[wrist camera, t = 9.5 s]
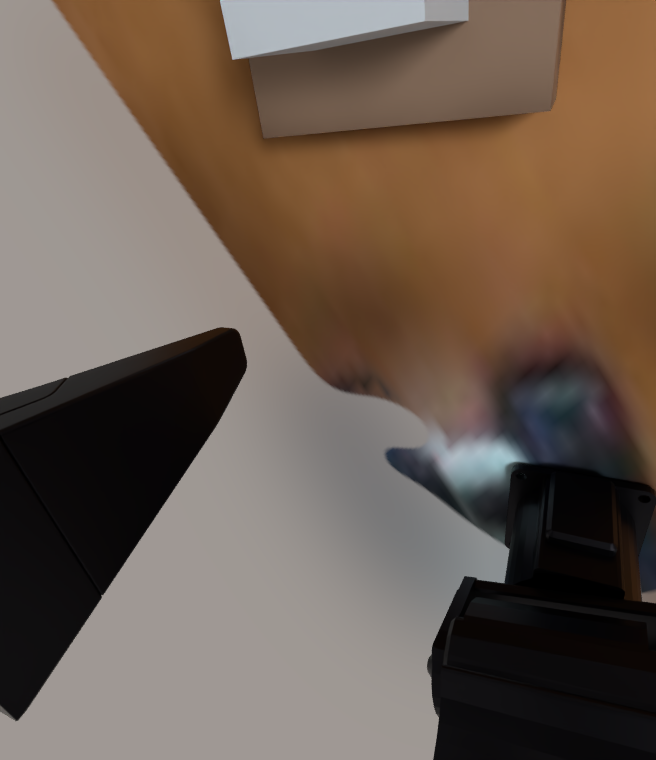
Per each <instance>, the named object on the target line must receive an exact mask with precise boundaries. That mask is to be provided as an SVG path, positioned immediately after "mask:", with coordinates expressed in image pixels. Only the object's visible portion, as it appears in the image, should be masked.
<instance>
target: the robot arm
mask: <svg viewBox="0 0 656 760" xmlns="http://www.w3.org/2000/svg"><path fill="white" fill-rule="evenodd" d="M246 368H247V360H246V356H245V352H244V348H243V344H242V340H241V336H240V334H239V332H238V331H237V330H236V329H232V328H223V327H221V328H216V329H213V330H210V331H207V332H204V333H201V334H198V335H195V336H192V337H189V338H186V339H182V340H180V341H177V342H173V343H170V344H167V345H164V346H161V347H158V348H155V349H152V350H149V351H146V352H143V353H140V354H137V355H134V356H130V357H127V358H124V359H121V360H118V361H115V362H112V363H109V364H106V365H103V366H100V367H97V368H94V369H91V370H88V371H84V372H82V373H78V374H75V375H72V376H70V377H69V378H63V379H60V380H57V381H54V382H51V383H47V384H44V385H42V386H38V387H35V388H32V389H28V390H25V391H22V392H19V393H15V394H12V395H9V396H5V397H2V398H0V711H1V712H2V713H4V714H5V715H7V716H8V717H10V718H12V719H14V720H15V721H18V720H19V719H20V717H21V716H22V715H23V714H24V713H25V711H26V710H27V709H28V707H29V706H30V704H31V703H32V701H33V700H34V698H35V697H36V695H37V694H38V692H39V691H40V690H41V688H42V687H43V685H44V683H45V682H46V681H47V679H48V678H49V676H50V674H51V673H52V672H53V670H54V669H55V667H56V666H57V664H58V663H59V661H60V660H61V658H62V657H63V655H64V653H65V652H66V651H67V649H68V648H69V646H70V644H71V643H72V642H73V640H74V639H75V637H76V636H77V634H78V633H79V631H80V630H81V628H82V627H83V625H84V624H85V622H86V621H87V619H88V618H89V616H90V615H91V613H92V612H93V610H94V608H95V607H96V606H97V604H98V603H99V601H100V600H101V598H102V596H101V595H103V594H104V593H105V592H106V590H107V589H108V587H109V585H110V584H111V583H112V581H113V579H114V578H115V577H116V575H117V573H118V572H119V571H120V569H121V568H122V566H123V565H124V563H125V562H126V560H127V558H128V557H129V556H130V554H131V553H132V551H133V550H134V548H135V547H136V545H137V544H138V542H139V540H140V539H141V538H142V536H143V535H144V533H145V532H146V530H147V529H148V527H149V526H150V524H151V523H152V521H153V520H154V518H155V517H156V515H157V514H158V512H159V511H160V509H161V508H162V506H163V505H164V503H165V502H166V500H167V499H168V498H169V496H170V495H171V493H172V492H173V490H174V489H175V487H176V486H177V484H178V483H179V481H180V480H181V478H182V477H183V475H184V474H185V472H186V471H187V469H188V468H189V466H190V464H191V463H192V462H193V460H194V458H195V457H196V456H197V454H198V453H199V451H200V450H201V448H202V447H203V445H204V444H205V442H206V441H207V439H208V437H209V436H210V435H211V433H212V432H213V430H214V429H215V427H216V425H217V424H218V422H219V420H220V419H221V417H222V415H223V413H224V411H225V409H226V408H227V406H228V404H229V402H230V400H231V398H232V396H233V394H234V392H235V391H236V389H237V387H238V385H239V383H240V381H241V379H242V377H243V375H244V374H245V371H246ZM519 473H523V474H525V475H521V474H519ZM641 495H646V496H647V497H641ZM655 505H656V492H655V490H654V489H653V488H651V487H648V486H645V485H639V484H633V483H627V482H622V481H616V480H610V479H604V478H599V477H593V476H587V475H582V474H576V473H570V472H564V471H559V470H553V469H547V468H541V467H536V466H530V465H524V464H518V465H515V466H514V467H513V469H512V473H511V482H510V493H509V503H508V514H507V524H506V534H505V545H506V547H507V548H509V549H510V550H509V557H508V563H507V570H506V576H505V583H497V582H489V581H482V580H477V578H474V577H467V576H465V577H464V579H463V581H462V583H461V585H460V588H459V589H458V590H457V592H456V594H455V596H454V598H453V601H452V603H451V605H450V607H449V610H448V612H447V614H446V616H445V618H444V621H443V623H442V625H441V627H440V629H439V632H438V634H437V636H436V638H435V641H434V643H433V646H432V655H431V656H430V657H429V659H428V664H427V670H428V673H429V674H430V676H431V678H432V698H433V703H434V708H435V711H436V714H437V715H438V717H439V724H438V733H437V739H436V746H435V752H434V759H433V760H656V603H648V602H642V595H641V584H640V572H639V561H638V556H639V553H640V550H641V547H642V544H643V541H644V538H645V535H646V532H647V529H648V526H649V523H650V520H651V517H652V514H653V511H654V508H655Z"/></svg>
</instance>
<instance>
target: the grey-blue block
mask: <svg viewBox="0 0 656 760" xmlns="http://www.w3.org/2000/svg"><path fill="white" fill-rule="evenodd" d="M220 3H221V8H222V13H223V17H224V22H225V27H226V31H227V36H228V41H229V45H230V50H231V55H232V60H235V59H243V58H252V57H261V56H270V55H279V54H288V53H297V52H306V51H315V50H320V49H325V48H330V47H335V46H340V45H346V44H351V43H356V42H361V41H366V40H371V39H376V38H382V37H387V36H392V35H397V34H402V33H407V32H413V31H418V30H423V29H428V28H433V27H438V26H444V25H449V24H454V23H459V22H464V21H468V10H469V0H220Z"/></svg>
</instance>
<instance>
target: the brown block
mask: <svg viewBox="0 0 656 760" xmlns="http://www.w3.org/2000/svg"><path fill="white" fill-rule="evenodd" d="M565 6H566V0H469V10H468V21H464V22H459V23H454V24H449V25H444V26H438V27H433V28H428V29H423V30H418V31H413V32H407V33H402V34H397V35H392V36H387V37H382V38H376V39H371V40H366V41H361V42H356V43H351V44H346V45H340V46H335V47H330V48H325V49H320V50H315V51H306V52H297V53H288V54H279V55H270V56H261V57H252V58H249V63H250V69H251V74H252V80H253V85H254V90H255V96H256V101H257V106H258V112H259V117H260V122H261V128H262V133H263V139H264V138H274V137H285V136H295V135H306V134H316V133H326V132H337V131H347V130H358V129H368V128H378V127H389V126H399V125H410V124H420V123H430V122H441V121H451V120H462V119H472V118H482V117H493V116H503V115H514V114H524V113H534V112H545V111H551V109H552V106H553V104H554V102H555V100H556V93H557V83H558V74H559V64H560V55H561V45H562V35H563V26H564V16H565Z"/></svg>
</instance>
